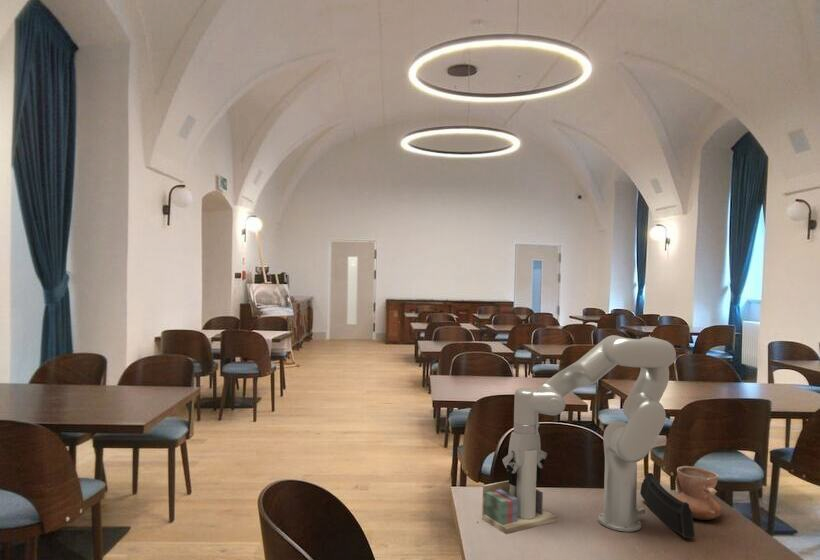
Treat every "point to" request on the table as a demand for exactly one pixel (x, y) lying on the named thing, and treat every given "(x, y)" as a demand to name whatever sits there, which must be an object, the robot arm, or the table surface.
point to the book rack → (510, 509)
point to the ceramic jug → (698, 491)
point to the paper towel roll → (526, 485)
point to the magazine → (667, 507)
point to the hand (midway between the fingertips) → (524, 482)
